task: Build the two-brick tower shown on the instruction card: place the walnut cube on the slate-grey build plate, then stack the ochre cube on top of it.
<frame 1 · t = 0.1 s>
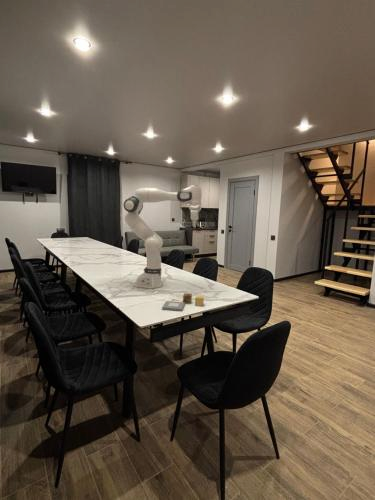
hand: (194, 226, 200), 48 cm above the table, fingers open, 8 cm apart
page: (175, 300, 174), on the table
block b: (199, 304, 169), on the table
block a: (187, 301, 173), on the table
plate: (173, 306, 162), on the table
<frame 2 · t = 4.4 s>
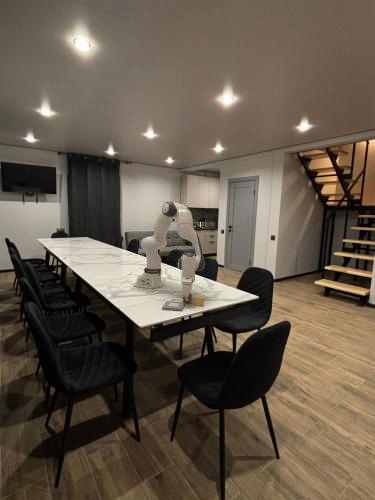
hand: (187, 299, 172), 2 cm above the table, fingers closed on block a, 5 cm apart
block a: (187, 301, 173), on the table, touching gripper
everything else where it was.
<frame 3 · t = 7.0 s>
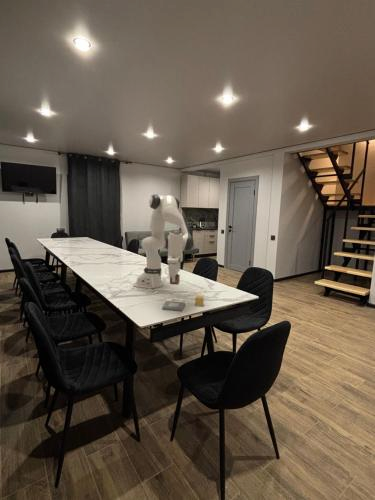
hand: (174, 280, 160), 16 cm above the table, fingers closed on block a, 5 cm apart
block a: (174, 283, 161), point 15 cm above the table, touching gripper
everything else where it was.
when the fingers open (4 cm above the table, at t = 9.6 s): block a stays where it is, resting on plate.
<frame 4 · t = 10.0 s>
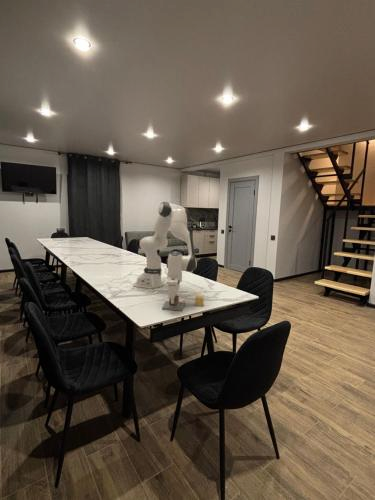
hand: (173, 300, 162), 4 cm above the table, fingers open, 8 cm apart
block a: (173, 304, 162), point 1 cm above the table, touching plate
everything else where it was.
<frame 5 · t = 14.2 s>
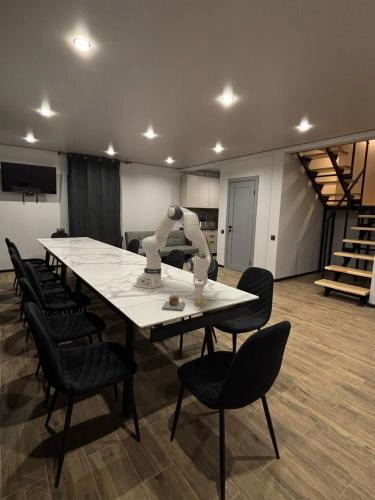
hand: (199, 301, 168), 2 cm above the table, fingers closed on block b, 5 cm apart
block b: (199, 304, 169), on the table, touching gripper
everything else where it was.
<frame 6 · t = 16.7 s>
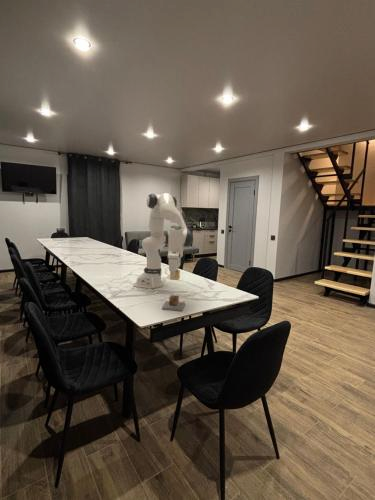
hand: (174, 276, 160), 19 cm above the table, fingers closed on block b, 5 cm apart
block b: (174, 278, 160), point 17 cm above the table, touching gripper
everything else where it was.
when the fingers open (9 cm above the table, at t = 19.5 s): block b stays where it is, resting on block a.
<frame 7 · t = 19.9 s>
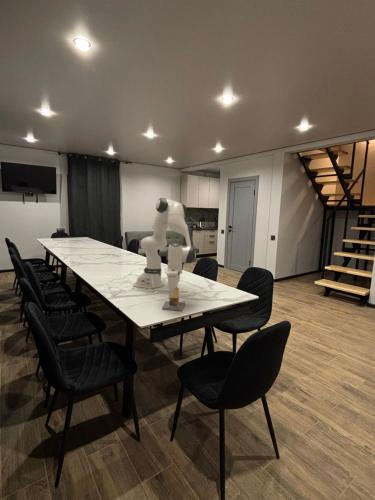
hand: (174, 292, 161), 9 cm above the table, fingers open, 8 cm apart
block b: (174, 296, 162), point 6 cm above the table, touching block a
block a: (173, 304, 162), point 1 cm above the table, touching block b, plate
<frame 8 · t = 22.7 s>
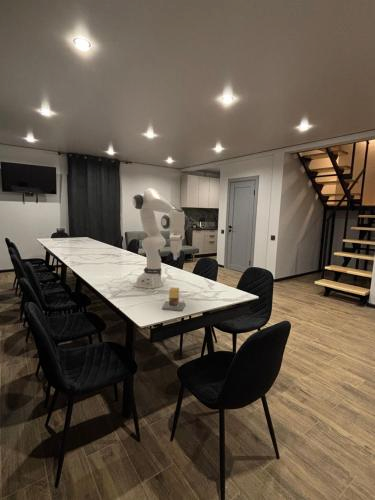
hand: (176, 258, 164), 29 cm above the table, fingers open, 8 cm apart
nothing on the table moved.
at the end: block a inside the target area on the plate (0.1 cm from its centre), point 1.3 cm above the plate's base; block b 0.0 cm off-centre on the block a, point 5.0 cm above the block a's base; the gripper is holding nothing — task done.
